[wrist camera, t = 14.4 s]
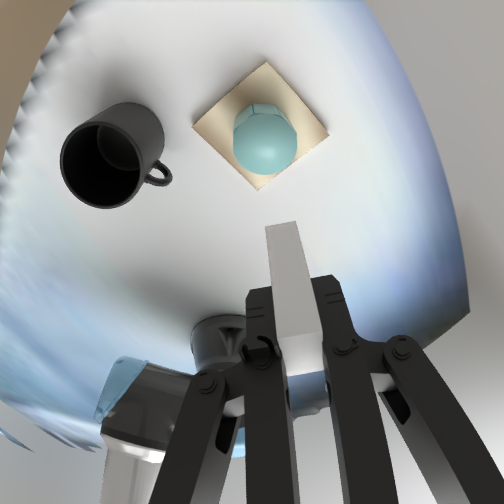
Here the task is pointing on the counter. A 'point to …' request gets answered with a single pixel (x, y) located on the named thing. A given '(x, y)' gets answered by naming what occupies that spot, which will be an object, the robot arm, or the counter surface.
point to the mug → (113, 156)
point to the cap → (264, 139)
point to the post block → (262, 92)
